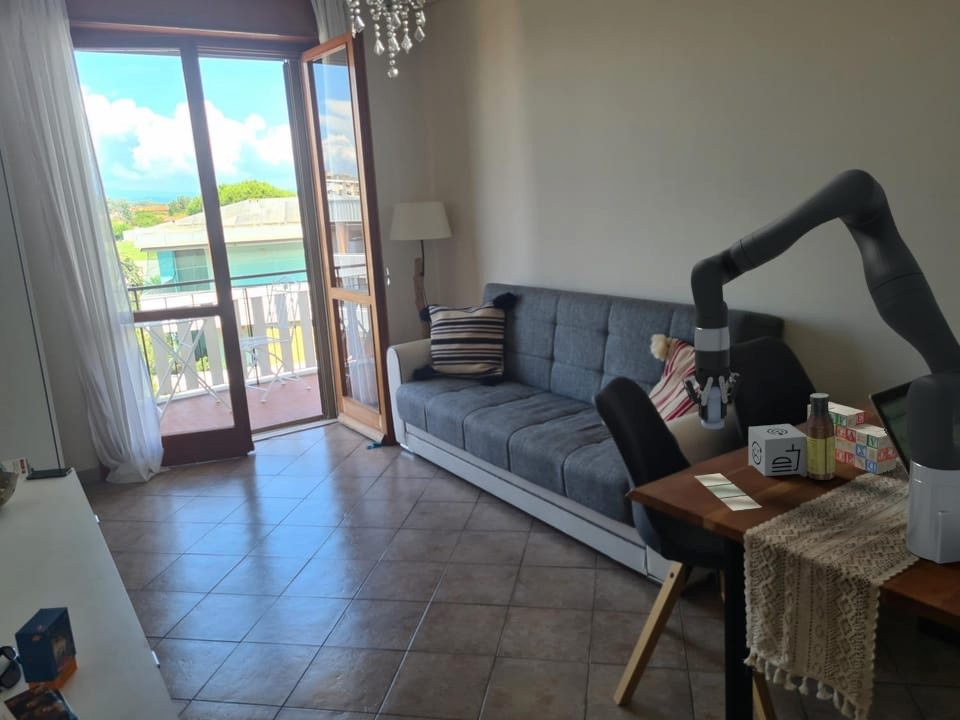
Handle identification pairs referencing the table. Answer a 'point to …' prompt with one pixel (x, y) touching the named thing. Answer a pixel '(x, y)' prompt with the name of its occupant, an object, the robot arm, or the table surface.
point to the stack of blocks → (860, 440)
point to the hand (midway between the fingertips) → (712, 418)
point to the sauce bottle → (820, 439)
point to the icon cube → (777, 450)
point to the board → (727, 492)
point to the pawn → (713, 410)
